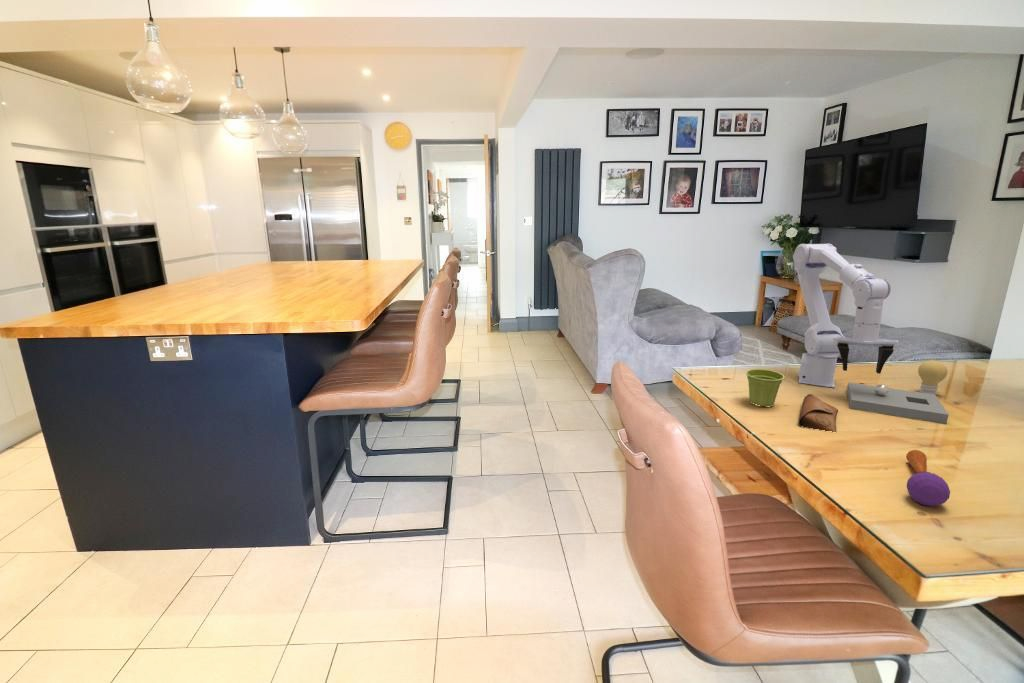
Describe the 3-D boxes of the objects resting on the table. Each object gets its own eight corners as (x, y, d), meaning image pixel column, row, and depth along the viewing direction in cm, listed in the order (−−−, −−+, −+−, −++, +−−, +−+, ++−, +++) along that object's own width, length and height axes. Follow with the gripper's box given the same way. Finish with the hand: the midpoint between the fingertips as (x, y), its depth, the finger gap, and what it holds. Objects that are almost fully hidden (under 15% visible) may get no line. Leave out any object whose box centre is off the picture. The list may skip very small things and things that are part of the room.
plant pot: (765, 412, 128) (769, 382, 126) (735, 401, 137) (738, 372, 134) (787, 406, 133) (792, 376, 130) (757, 395, 141) (760, 367, 139)
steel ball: (873, 395, 133) (875, 384, 132) (872, 392, 135) (874, 381, 134) (888, 398, 131) (890, 387, 130) (886, 394, 134) (888, 383, 133)
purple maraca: (940, 451, 99) (959, 489, 83) (927, 476, 101) (943, 517, 85) (905, 439, 102) (916, 473, 86) (893, 463, 104) (902, 501, 88)
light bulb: (931, 390, 143) (938, 358, 141) (947, 398, 137) (955, 364, 135) (908, 389, 144) (915, 357, 141) (923, 397, 138) (931, 364, 135)
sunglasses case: (839, 434, 116) (826, 409, 116) (807, 441, 120) (795, 417, 120) (838, 409, 130) (827, 386, 130) (810, 416, 134) (799, 395, 135)
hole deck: (850, 408, 131) (851, 399, 130) (846, 390, 144) (848, 382, 143) (946, 423, 121) (948, 414, 120) (933, 402, 134) (935, 394, 133)
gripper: (837, 323, 131) (832, 371, 134) (904, 326, 125) (897, 377, 127) (834, 320, 138) (829, 366, 140) (897, 323, 131) (891, 371, 134)
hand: (861, 371), depth 134 cm, fingers open, 7 cm apart
